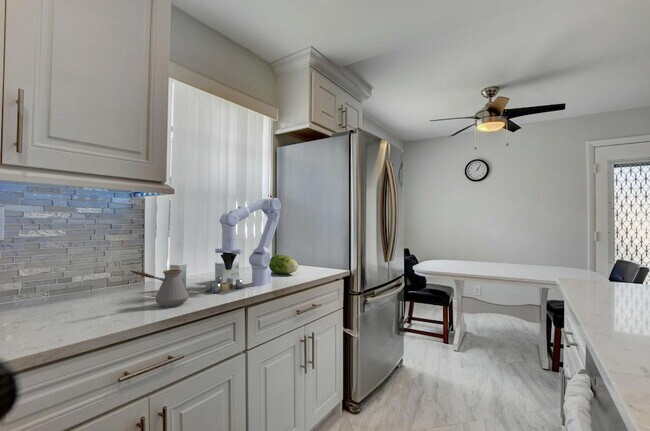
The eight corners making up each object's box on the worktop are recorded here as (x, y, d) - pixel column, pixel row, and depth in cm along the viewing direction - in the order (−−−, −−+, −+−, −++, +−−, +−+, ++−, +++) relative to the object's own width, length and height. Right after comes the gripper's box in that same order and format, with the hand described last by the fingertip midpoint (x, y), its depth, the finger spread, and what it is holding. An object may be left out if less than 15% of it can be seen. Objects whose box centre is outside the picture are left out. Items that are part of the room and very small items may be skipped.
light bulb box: (231, 280, 168) (231, 260, 169) (239, 281, 165) (239, 261, 165) (214, 283, 160) (214, 262, 160) (222, 285, 156) (222, 263, 156)
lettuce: (289, 277, 177) (289, 257, 177) (265, 273, 190) (265, 255, 191) (303, 274, 186) (303, 255, 186) (279, 271, 199) (280, 253, 200)
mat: (217, 285, 154) (217, 284, 154) (246, 289, 146) (246, 288, 146) (192, 292, 140) (192, 290, 140) (222, 296, 132) (222, 294, 132)
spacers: (218, 284, 153) (218, 276, 153) (244, 287, 146) (244, 279, 146) (193, 290, 140) (193, 281, 140) (221, 294, 133) (221, 285, 133)
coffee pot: (177, 299, 127) (177, 262, 127) (194, 303, 121) (195, 264, 121) (119, 312, 109) (120, 269, 109) (137, 318, 103) (138, 272, 103)
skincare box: (169, 290, 143) (169, 264, 143) (176, 288, 147) (176, 263, 147) (179, 291, 141) (179, 265, 141) (186, 289, 145) (186, 264, 145)
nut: (223, 288, 145) (223, 281, 145) (232, 289, 144) (232, 282, 144) (217, 291, 140) (217, 284, 140) (226, 291, 139) (226, 284, 139)
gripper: (210, 239, 141) (209, 269, 141) (235, 240, 134) (234, 272, 134) (221, 238, 147) (221, 267, 147) (246, 239, 141) (245, 269, 140)
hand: (228, 269), depth 141 cm, fingers closed
